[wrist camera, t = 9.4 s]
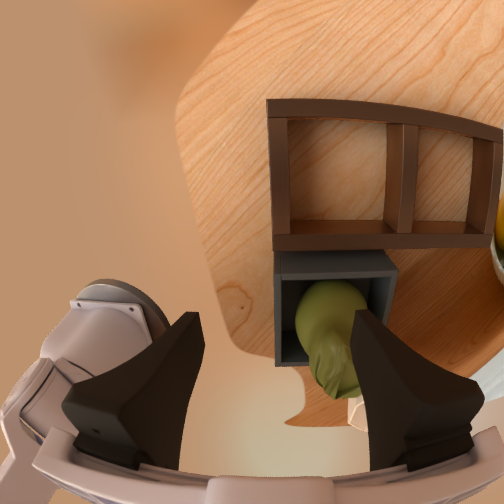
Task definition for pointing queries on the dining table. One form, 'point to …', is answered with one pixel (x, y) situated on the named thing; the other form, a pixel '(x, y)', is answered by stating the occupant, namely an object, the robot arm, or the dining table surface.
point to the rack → (397, 181)
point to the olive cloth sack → (330, 334)
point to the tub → (315, 269)
